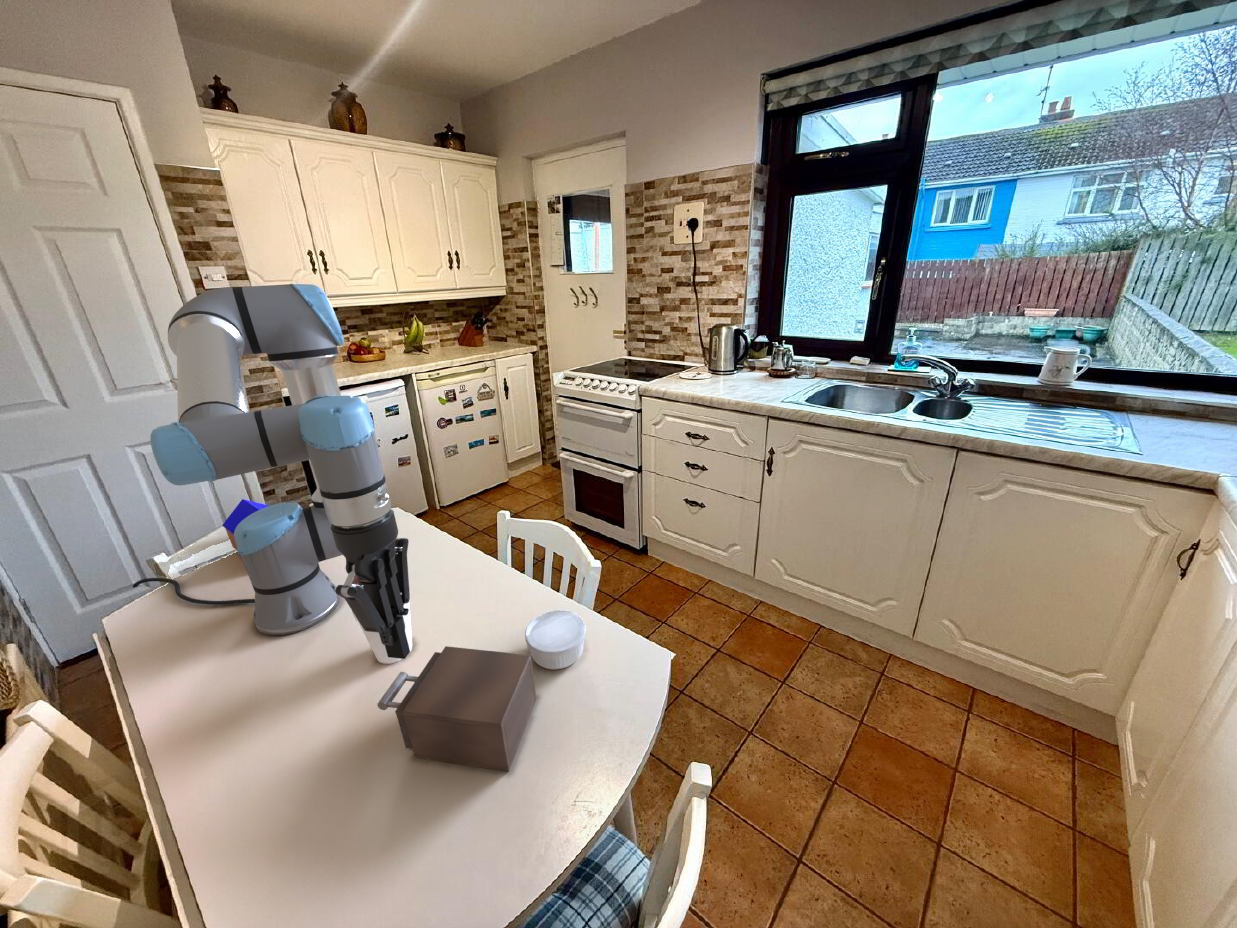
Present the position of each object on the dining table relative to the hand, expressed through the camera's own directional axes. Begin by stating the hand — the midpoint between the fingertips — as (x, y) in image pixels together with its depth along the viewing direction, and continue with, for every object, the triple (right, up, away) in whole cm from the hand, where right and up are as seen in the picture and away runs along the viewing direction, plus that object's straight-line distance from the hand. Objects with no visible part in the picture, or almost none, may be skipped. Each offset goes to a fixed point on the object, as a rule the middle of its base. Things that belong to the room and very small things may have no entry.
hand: (399, 654), depth 72 cm
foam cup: (-10, -7, +19) cm, 23 cm away
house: (-57, +6, +54) cm, 79 cm away
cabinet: (+11, -13, +4) cm, 17 cm away
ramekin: (+22, -7, +18) cm, 29 cm away
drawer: (+6, -12, +4) cm, 14 cm away
